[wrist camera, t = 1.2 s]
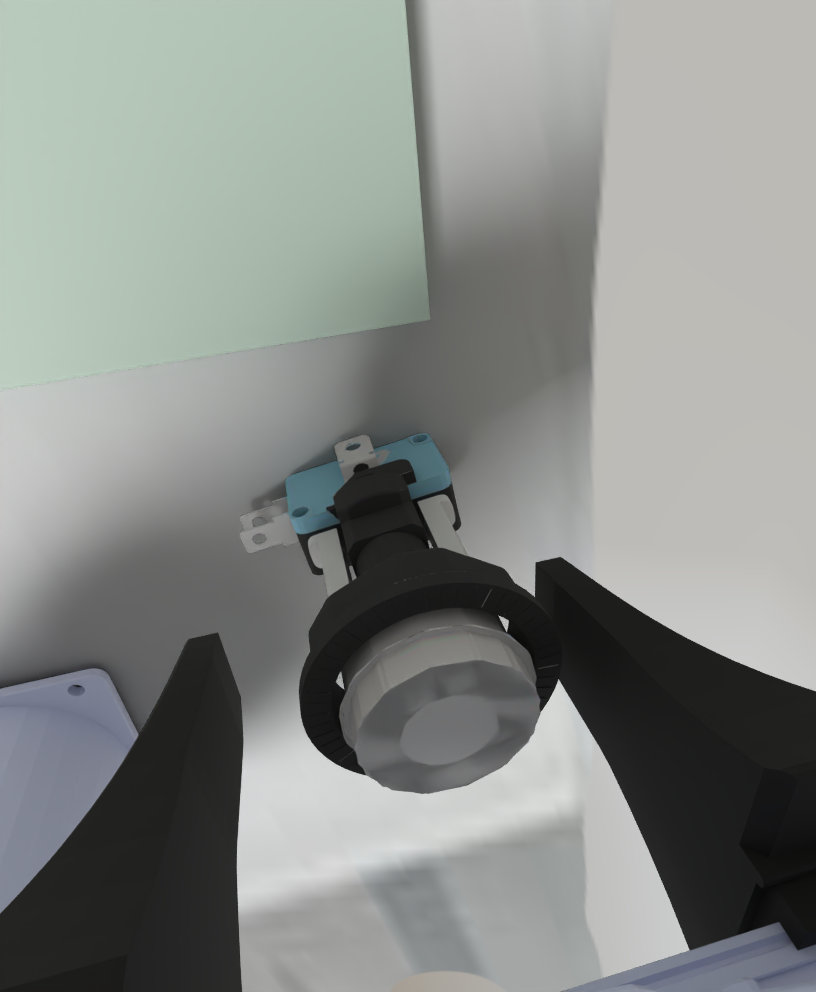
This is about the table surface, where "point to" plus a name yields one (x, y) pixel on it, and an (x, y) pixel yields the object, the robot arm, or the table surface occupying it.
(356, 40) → the sage board
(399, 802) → the table surface
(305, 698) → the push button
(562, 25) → the table surface
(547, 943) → the table surface
